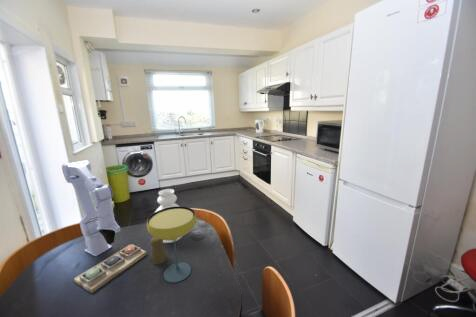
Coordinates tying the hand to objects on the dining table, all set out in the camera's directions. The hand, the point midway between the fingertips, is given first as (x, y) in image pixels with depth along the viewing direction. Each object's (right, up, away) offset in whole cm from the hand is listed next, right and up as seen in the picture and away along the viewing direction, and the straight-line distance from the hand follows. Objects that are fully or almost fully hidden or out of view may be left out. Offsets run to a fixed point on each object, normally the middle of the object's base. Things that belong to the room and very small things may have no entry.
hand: (110, 242), depth 91 cm
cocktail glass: (+30, -10, -5) cm, 32 cm away
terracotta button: (+6, -6, +5) cm, 10 cm away
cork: (+20, -9, +3) cm, 22 cm away
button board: (+2, -10, -1) cm, 10 cm away
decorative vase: (+20, -5, +21) cm, 29 cm away
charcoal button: (+2, -8, -1) cm, 9 cm away
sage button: (-2, -10, -8) cm, 13 cm away
